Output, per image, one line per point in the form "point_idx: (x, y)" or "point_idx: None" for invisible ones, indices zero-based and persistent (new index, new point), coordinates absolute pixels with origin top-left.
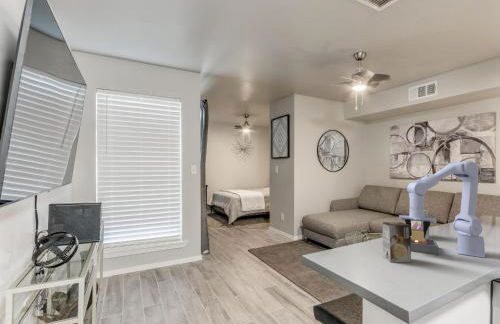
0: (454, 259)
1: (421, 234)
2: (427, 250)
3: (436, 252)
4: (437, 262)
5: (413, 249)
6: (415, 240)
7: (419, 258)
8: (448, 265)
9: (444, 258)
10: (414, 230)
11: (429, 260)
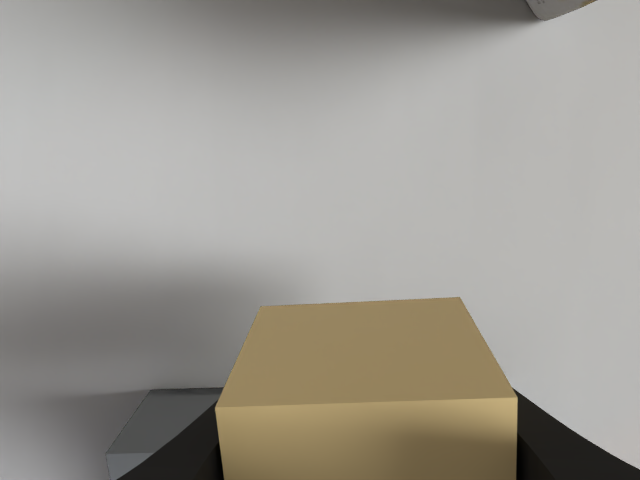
0: (6, 330)
1: (279, 365)
2: None
3: (160, 406)
4: (151, 89)
5: None
6: (397, 302)
7: (340, 127)
8: (43, 43)
9: (93, 306)
10: (442, 465)
11: (233, 115)
